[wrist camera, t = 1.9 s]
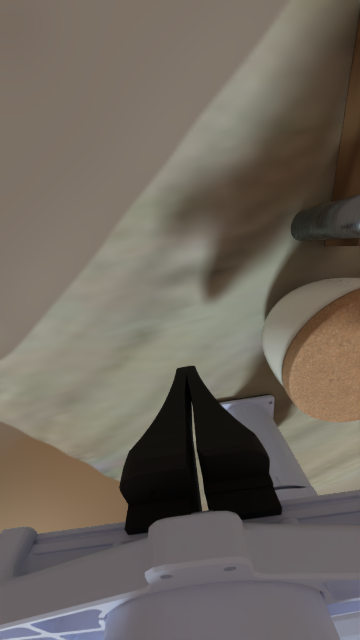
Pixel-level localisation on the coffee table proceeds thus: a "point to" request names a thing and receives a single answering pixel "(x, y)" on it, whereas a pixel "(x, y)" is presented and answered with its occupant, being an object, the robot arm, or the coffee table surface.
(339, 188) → the walnut shelf
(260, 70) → the coffee table surface
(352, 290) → the lidded jar
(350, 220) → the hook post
